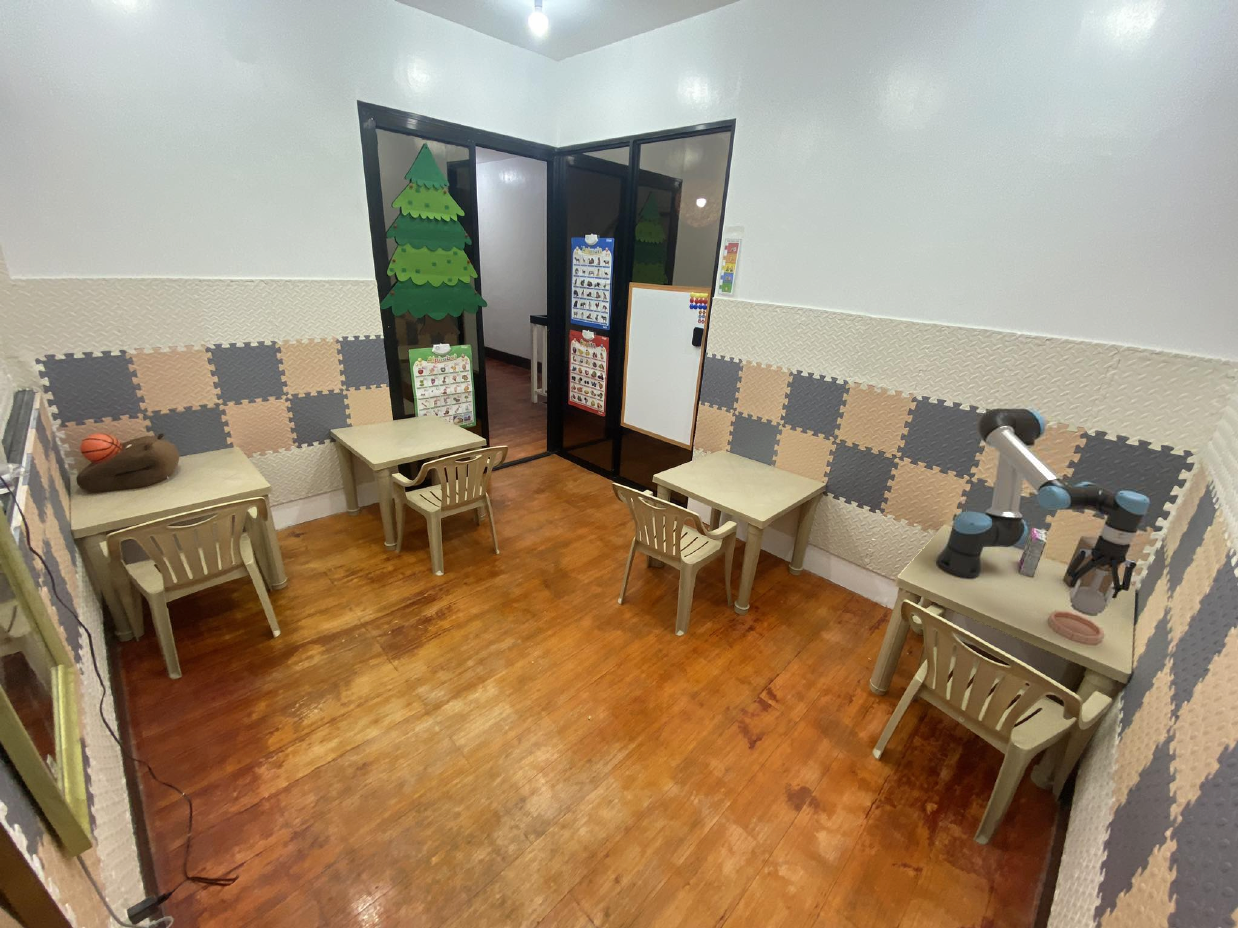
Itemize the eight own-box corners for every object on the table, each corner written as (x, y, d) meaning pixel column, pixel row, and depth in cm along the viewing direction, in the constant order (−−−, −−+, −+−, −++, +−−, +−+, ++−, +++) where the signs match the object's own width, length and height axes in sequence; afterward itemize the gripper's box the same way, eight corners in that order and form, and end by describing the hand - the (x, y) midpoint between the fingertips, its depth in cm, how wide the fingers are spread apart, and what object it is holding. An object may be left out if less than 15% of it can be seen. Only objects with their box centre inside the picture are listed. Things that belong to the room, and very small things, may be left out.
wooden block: (1106, 598, 195) (1128, 551, 188) (1076, 593, 197) (1097, 547, 189) (1089, 583, 204) (1110, 538, 197) (1061, 579, 206) (1080, 534, 199)
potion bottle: (1092, 620, 167) (1114, 572, 161) (1061, 604, 175) (1081, 558, 168) (1107, 614, 171) (1129, 567, 164) (1076, 599, 178) (1096, 553, 172)
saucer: (1051, 633, 174) (1054, 627, 173) (1045, 611, 185) (1047, 605, 184) (1105, 650, 167) (1108, 643, 166) (1095, 626, 178) (1098, 620, 178)
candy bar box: (1018, 561, 217) (1031, 526, 211) (1033, 566, 214) (1047, 530, 208) (1017, 573, 208) (1031, 537, 202) (1033, 577, 206) (1047, 541, 200)
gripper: (1075, 534, 165) (1050, 594, 173) (1163, 554, 155) (1132, 617, 164) (1071, 525, 171) (1047, 584, 179) (1155, 544, 161) (1126, 605, 170)
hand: (1087, 600), depth 171 cm, fingers closed on potion bottle, 8 cm apart
